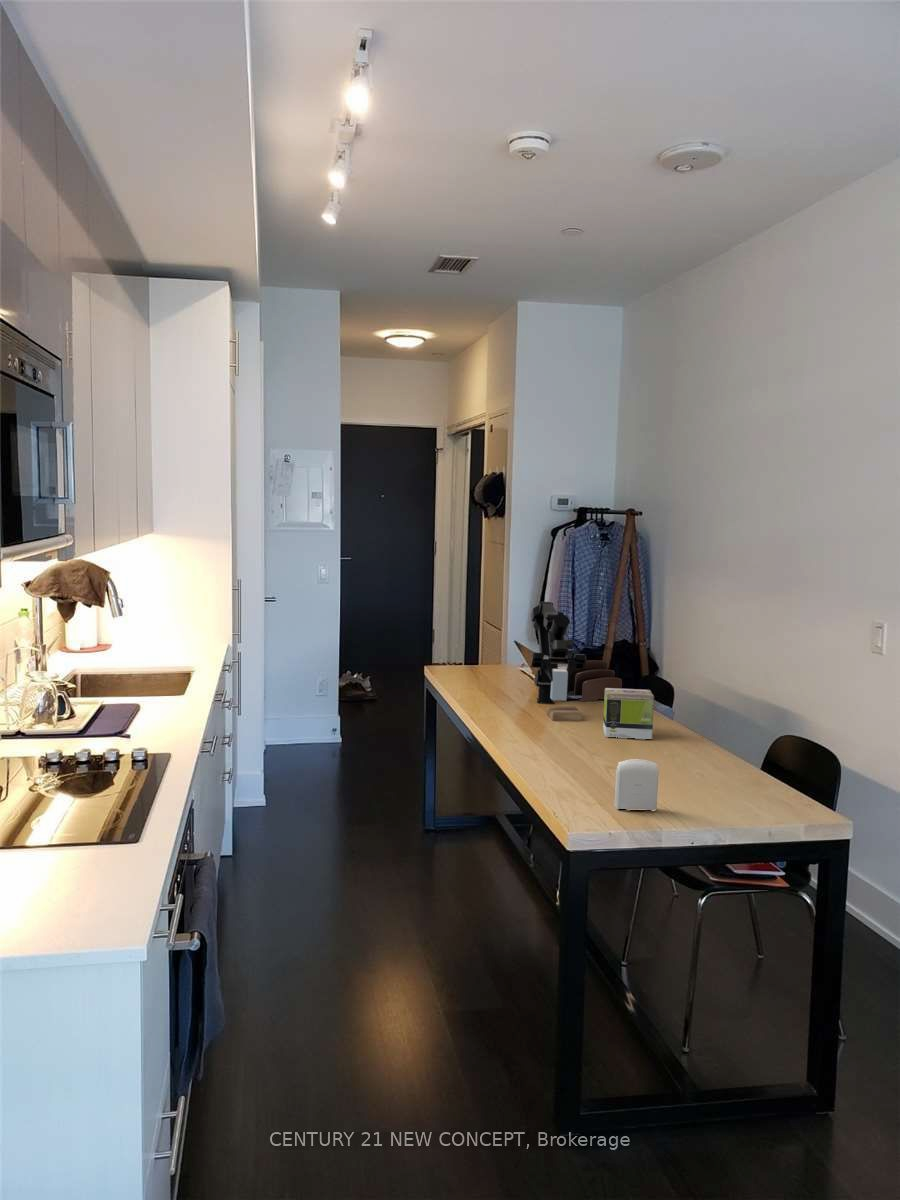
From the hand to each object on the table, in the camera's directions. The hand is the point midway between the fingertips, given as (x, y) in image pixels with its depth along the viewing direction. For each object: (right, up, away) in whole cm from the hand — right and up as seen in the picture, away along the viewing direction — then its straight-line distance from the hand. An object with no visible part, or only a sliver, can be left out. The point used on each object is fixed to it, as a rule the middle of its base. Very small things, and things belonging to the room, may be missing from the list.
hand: (559, 681), depth 304 cm
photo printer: (+7, -23, -88) cm, 91 cm away
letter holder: (+18, -10, +40) cm, 45 cm away
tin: (0, -6, +2) cm, 7 cm away
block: (+2, -14, +4) cm, 14 cm away
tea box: (+20, -16, -17) cm, 30 cm away
